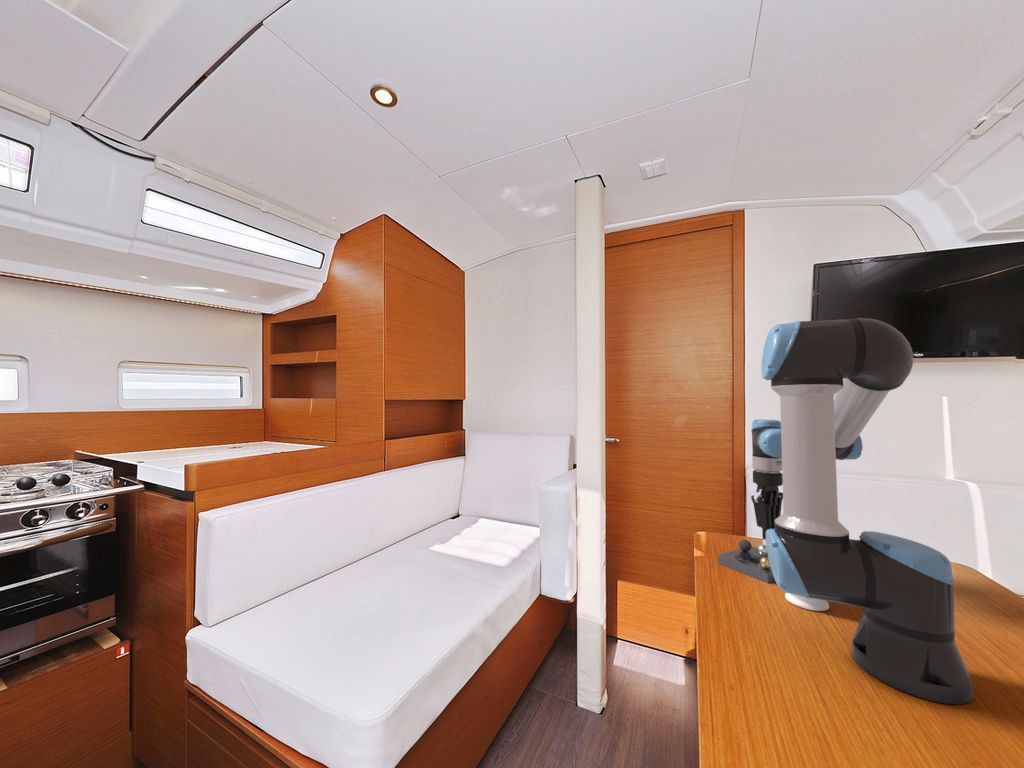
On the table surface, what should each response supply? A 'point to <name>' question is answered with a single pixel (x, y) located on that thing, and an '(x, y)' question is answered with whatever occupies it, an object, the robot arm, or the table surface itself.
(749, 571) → the plate
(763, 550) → the ball
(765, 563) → the brass ball
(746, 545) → the black ball
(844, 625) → the table surface
